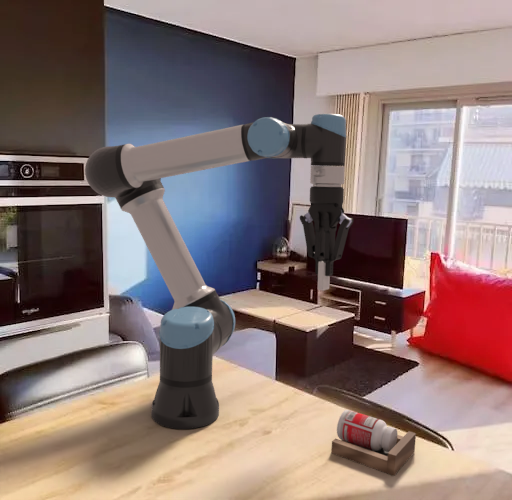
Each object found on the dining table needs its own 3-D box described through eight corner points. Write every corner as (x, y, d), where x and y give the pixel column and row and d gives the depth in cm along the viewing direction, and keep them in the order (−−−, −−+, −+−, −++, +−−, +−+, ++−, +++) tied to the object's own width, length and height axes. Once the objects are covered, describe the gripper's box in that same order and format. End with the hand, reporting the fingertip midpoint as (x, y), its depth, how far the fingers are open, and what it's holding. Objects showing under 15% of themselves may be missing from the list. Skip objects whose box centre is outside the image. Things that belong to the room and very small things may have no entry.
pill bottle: (342, 442, 115) (392, 460, 108) (332, 433, 110) (384, 451, 104) (351, 414, 117) (401, 430, 111) (343, 404, 113) (394, 420, 106)
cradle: (331, 453, 108) (332, 434, 108) (355, 432, 117) (356, 414, 117) (394, 475, 101) (395, 455, 100) (414, 452, 110) (416, 433, 109)
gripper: (293, 185, 123) (290, 287, 126) (344, 186, 115) (339, 296, 118) (311, 184, 128) (308, 282, 132) (361, 186, 120) (356, 290, 124)
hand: (323, 289), depth 125 cm, fingers closed
